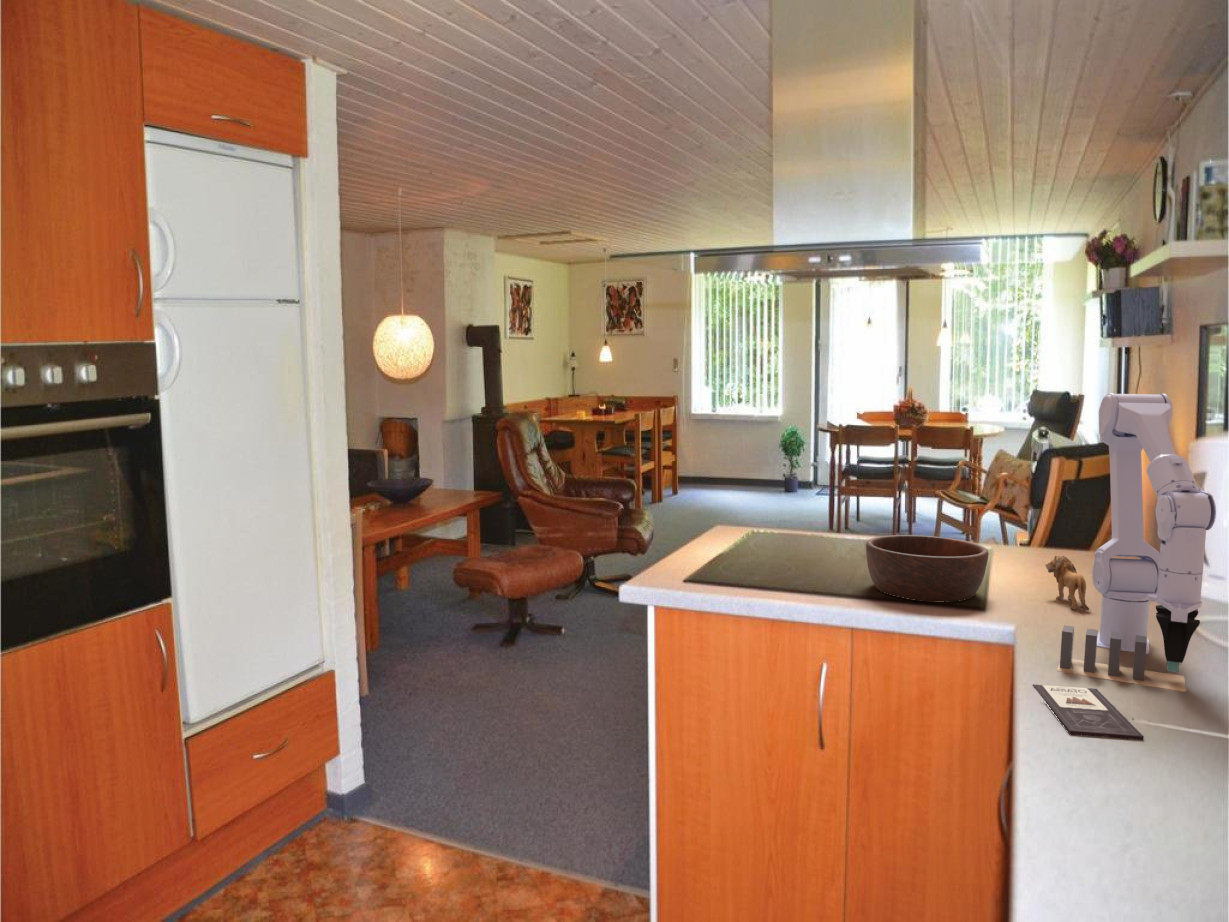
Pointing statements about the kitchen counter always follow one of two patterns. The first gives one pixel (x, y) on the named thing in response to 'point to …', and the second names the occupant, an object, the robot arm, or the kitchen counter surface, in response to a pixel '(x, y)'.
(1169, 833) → the kitchen counter surface
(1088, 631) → the domino
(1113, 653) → the domino
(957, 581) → the wooden bowl
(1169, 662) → the domino
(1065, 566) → the lion figurine
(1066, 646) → the domino
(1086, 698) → the chocolate bar
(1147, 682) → the cork strip
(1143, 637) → the domino
